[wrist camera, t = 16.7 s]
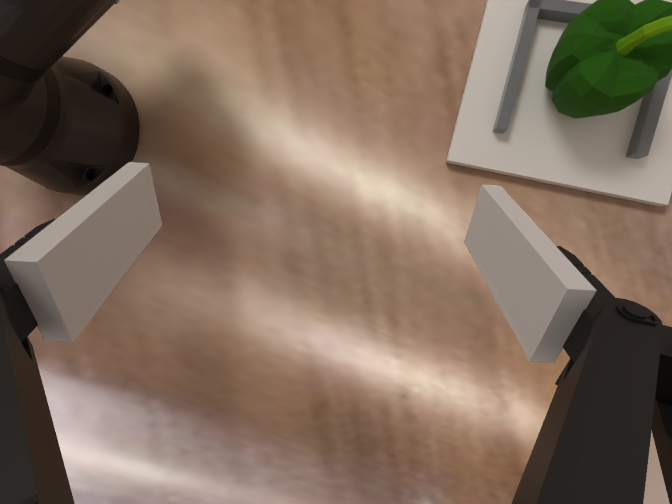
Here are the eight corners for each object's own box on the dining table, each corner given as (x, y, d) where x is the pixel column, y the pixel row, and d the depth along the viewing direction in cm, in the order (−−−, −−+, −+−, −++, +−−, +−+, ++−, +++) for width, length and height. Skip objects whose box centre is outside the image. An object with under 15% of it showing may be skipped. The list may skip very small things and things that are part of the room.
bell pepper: (520, 123, 36) (567, 79, 26) (541, 36, 35) (597, -43, 26) (615, 138, 35) (702, 97, 25) (638, 48, 34) (736, -31, 24)
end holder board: (445, 162, 38) (448, 156, 36) (491, -18, 37) (498, -38, 34) (658, 206, 35) (679, 203, 33) (717, 11, 34) (744, -8, 31)
